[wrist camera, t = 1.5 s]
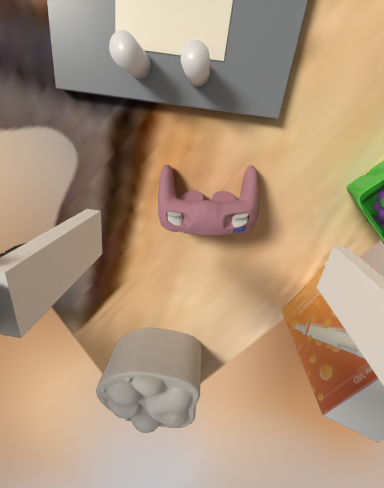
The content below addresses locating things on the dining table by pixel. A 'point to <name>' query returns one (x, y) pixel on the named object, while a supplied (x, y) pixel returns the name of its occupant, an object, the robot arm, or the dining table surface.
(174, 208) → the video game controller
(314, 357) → the small box
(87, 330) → the dining table surface
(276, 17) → the docking tray
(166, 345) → the lumpy-topped squat cylinder
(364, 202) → the fruit basket
